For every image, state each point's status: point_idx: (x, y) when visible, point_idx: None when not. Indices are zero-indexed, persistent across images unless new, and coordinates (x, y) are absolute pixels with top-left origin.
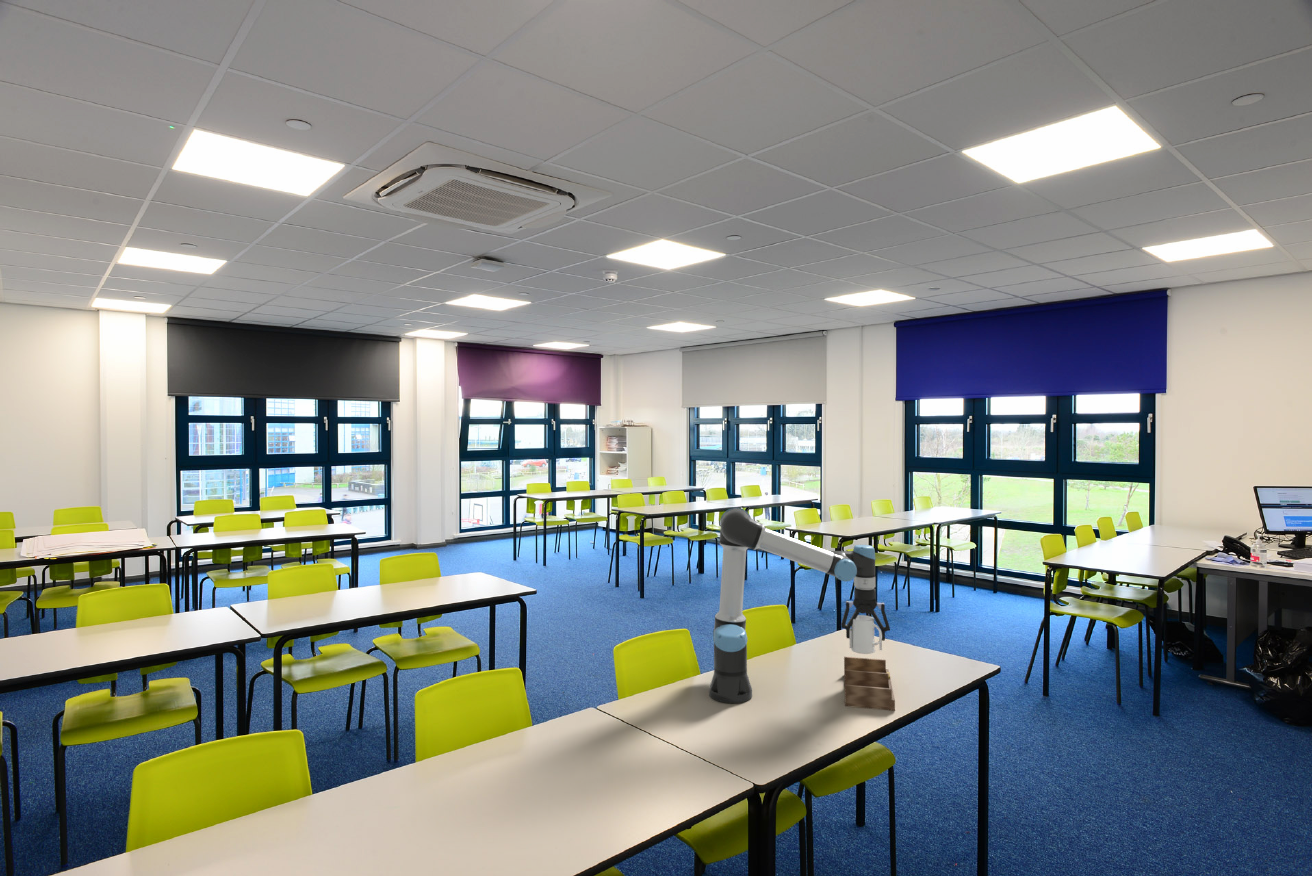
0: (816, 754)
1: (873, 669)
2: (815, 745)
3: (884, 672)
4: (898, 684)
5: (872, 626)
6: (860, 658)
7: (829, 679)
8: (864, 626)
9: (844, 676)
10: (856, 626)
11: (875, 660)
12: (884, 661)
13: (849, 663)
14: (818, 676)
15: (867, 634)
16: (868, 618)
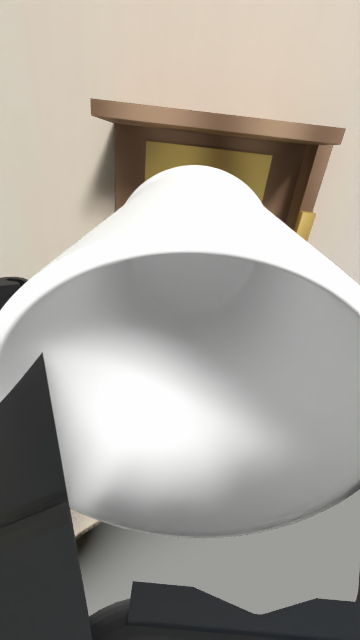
0: (78, 526)
1: (256, 138)
2: (73, 511)
3: (307, 144)
4: (332, 209)
5: (290, 433)
6: (191, 125)
7: (57, 189)
8: (190, 468)
9: (115, 177)
10: (106, 435)
11: (279, 137)
12: (330, 142)
13: (130, 122)
14: (6, 156)
15: (216, 398)
16: (334, 303)
